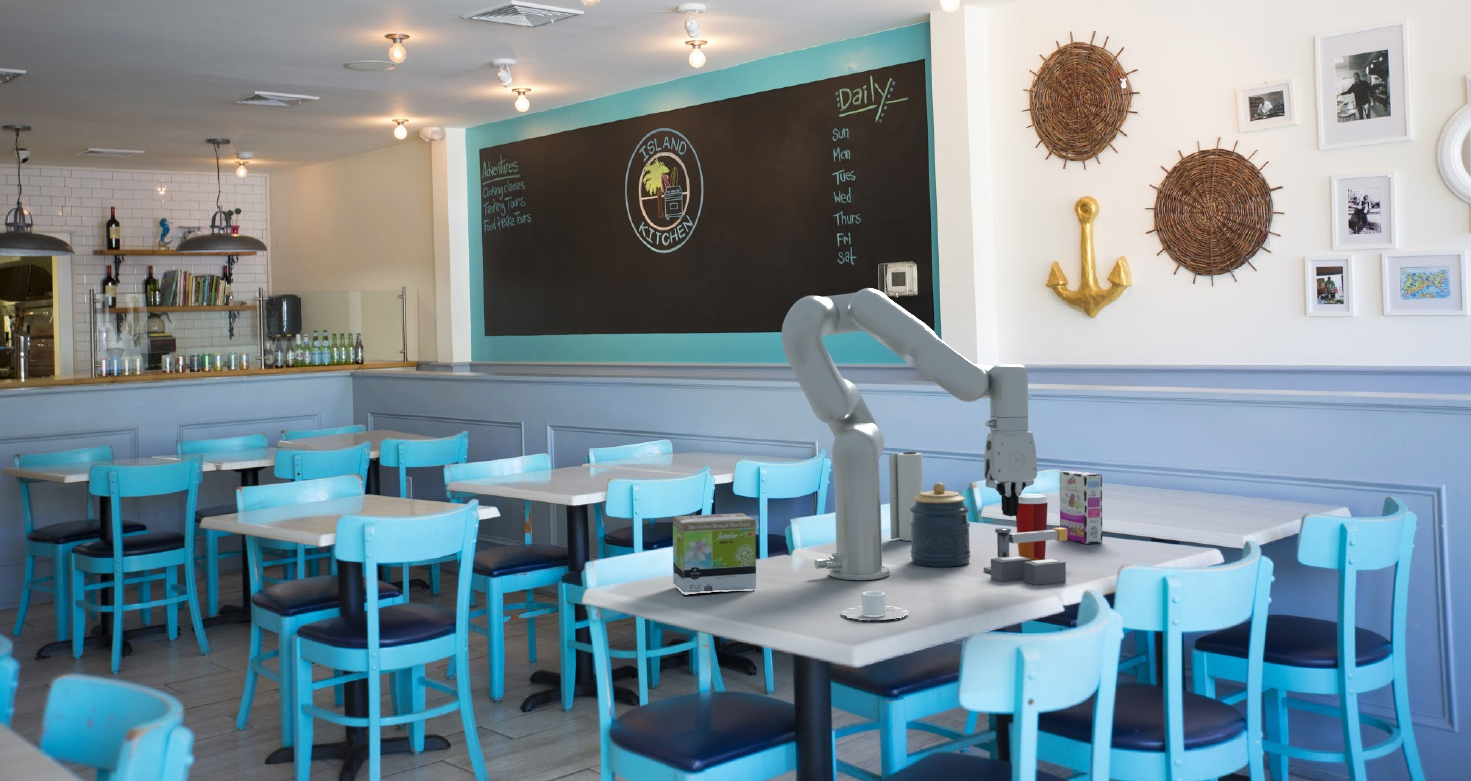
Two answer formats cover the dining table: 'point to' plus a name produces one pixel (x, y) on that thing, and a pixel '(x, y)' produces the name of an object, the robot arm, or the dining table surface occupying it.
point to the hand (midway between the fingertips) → (1010, 515)
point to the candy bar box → (1081, 506)
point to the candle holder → (874, 604)
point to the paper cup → (1032, 524)
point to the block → (1008, 568)
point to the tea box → (714, 552)
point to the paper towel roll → (904, 491)
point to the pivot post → (1001, 544)
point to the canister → (940, 529)
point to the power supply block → (1045, 571)
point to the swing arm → (1039, 535)
